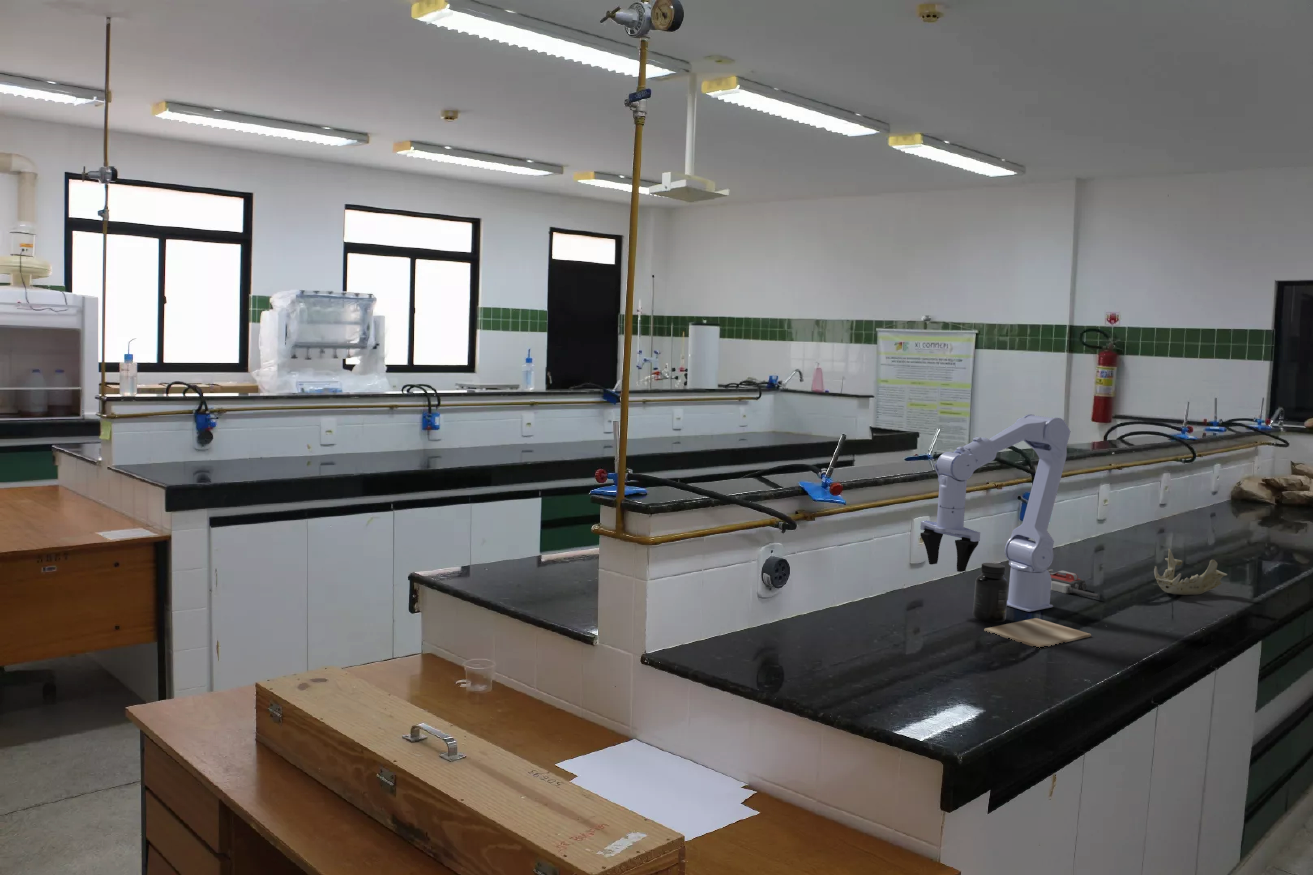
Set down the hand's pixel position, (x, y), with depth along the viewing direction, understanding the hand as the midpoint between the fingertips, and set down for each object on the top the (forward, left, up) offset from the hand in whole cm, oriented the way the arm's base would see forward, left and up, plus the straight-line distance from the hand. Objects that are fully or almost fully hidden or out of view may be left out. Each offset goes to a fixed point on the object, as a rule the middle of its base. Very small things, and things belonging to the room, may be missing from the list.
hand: (946, 567), depth 219 cm
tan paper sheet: (-5, +20, -10) cm, 23 cm away
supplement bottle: (-5, +8, -10) cm, 14 cm away
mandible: (-72, +15, -10) cm, 74 cm away
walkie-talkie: (-47, 0, -11) cm, 48 cm away
